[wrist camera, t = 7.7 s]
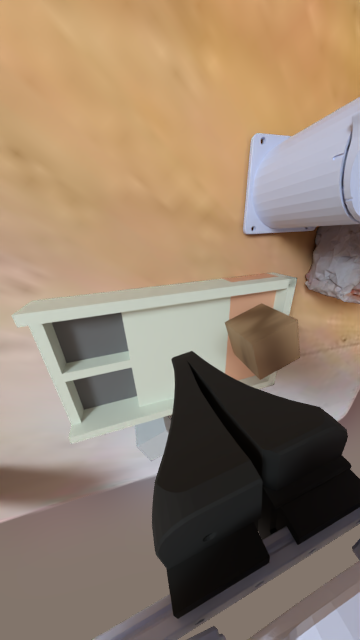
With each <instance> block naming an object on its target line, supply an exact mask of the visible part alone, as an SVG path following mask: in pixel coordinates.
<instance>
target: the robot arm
mask: <svg viewBox="0 0 360 640" xmlns="http://www.w3.org/2000/svg"><path fill="white" fill-rule="evenodd" d="M261 139H262V141H263V144H261ZM351 224H360V97H358V98H357V99H355V100H353V101H352V102H350V103H348V104H346V105H345V106H343V107H341V108H340V109H338V110H336V111H335V112H333V113H331V114H329V115H328V116H326V117H324V118H323V119H321V120H319V121H317V122H316V123H314V124H312V125H311V126H309V127H307V128H305V129H304V130H302V131H300V132H299V133H297V134H295V135H293V136H283V135H273V134H263V133H257V134H255V135H254V136H253V137H252V139H251V146H250V158H249V169H248V181H247V192H246V204H245V215H244V226H243V231H244V233H245V234H262V233H280V232H299V231H313V230H314V229H315V228H316V226H333V225H351ZM252 227H253V231H252V230H251V228H252ZM171 361H172V364H173V368H174V377H175V390H174V404H173V412H172V418H171V424H170V429H169V434H168V438H167V442H166V446H165V450H164V454H163V457H162V461H161V464H160V467H159V470H158V473H157V477H156V480H155V486H154V495H153V509H152V529H153V537H154V546H155V552H156V555H157V557H158V558H159V559H160V560H161V562H162V563H163V564H164V566H165V567H166V568H167V576H168V583H169V589H170V594H169V595H167V596H165V597H164V598H162V599H160V600H159V601H157V602H155V603H153V604H152V605H150V606H148V607H147V608H145V609H143V610H141V611H140V612H138V613H136V614H135V615H133V616H131V617H129V618H128V619H126V620H124V621H123V622H121V623H119V624H117V625H116V626H114V627H112V628H111V629H109V630H107V631H105V632H104V633H102V634H101V635H99V636H97V637H95V638H93V639H92V640H177V639H179V638H181V637H182V636H184V635H185V634H187V633H188V632H190V631H192V630H193V629H195V628H196V627H198V626H199V625H201V624H203V623H204V622H206V621H207V620H209V619H210V618H212V617H214V616H215V615H217V614H218V613H220V612H221V611H223V610H225V609H226V608H228V607H229V606H231V605H232V604H234V603H236V602H237V601H239V600H240V599H242V598H244V597H245V596H247V595H248V594H250V593H251V592H253V591H255V590H256V589H258V588H259V587H261V586H262V585H264V584H266V583H267V582H268V581H270V580H272V579H274V578H275V577H277V576H278V575H280V574H281V573H283V572H285V571H286V570H288V569H289V568H291V567H292V566H294V565H296V564H297V563H299V562H300V561H302V560H303V559H305V558H307V557H308V556H310V555H311V554H313V553H314V552H316V551H318V550H319V549H321V548H322V547H324V546H325V545H327V544H329V543H330V542H332V541H333V540H335V539H337V538H338V537H340V536H341V535H343V534H344V533H346V532H348V531H349V530H351V529H352V528H354V527H355V526H357V525H358V524H360V479H359V478H358V477H357V476H356V475H355V474H354V473H353V472H352V471H351V470H350V468H351V464H350V463H349V462H348V461H347V460H346V459H345V458H344V457H343V456H342V452H343V450H344V447H345V444H346V442H347V437H348V436H347V430H346V429H345V428H344V427H343V426H342V425H341V424H340V423H338V422H337V421H336V420H335V419H334V418H333V417H332V416H330V415H329V414H328V413H327V412H325V411H324V410H323V409H321V408H320V407H317V406H313V405H308V404H304V403H300V402H296V401H292V400H289V399H285V398H282V397H279V396H275V395H273V394H270V393H267V392H264V391H262V390H259V389H256V388H254V387H251V386H249V385H247V384H244V383H242V382H240V381H238V380H236V379H234V378H232V377H230V376H229V375H227V374H225V373H223V372H222V371H220V370H218V369H217V368H215V367H214V366H212V365H211V364H209V363H208V362H206V361H205V360H204V359H202V358H201V357H200V356H198V355H197V354H196V353H194V352H193V351H190V352H187V353H184V354H181V355H178V356H175V357H173V358H172V359H171ZM258 531H259V532H258ZM352 549H353V552H354V553H355V555H356V556H357V557H358V559H359V560H360V539H359V540H358V542H357V543H356V544H355V545H354V546H353V547H352ZM187 640H226V638H225V636H224V635H223V634H219V633H218V629H217V628H216V627H214V626H213V627H211V628H209V629H207V630H205V631H203V632H201V633H199V634H197V635H195V636H193V637H191V638H189V639H187ZM248 640H360V561H358V562H357V563H355V564H354V565H352V566H351V567H349V568H348V569H346V570H345V571H343V572H342V573H340V574H339V575H338V576H336V577H334V578H333V579H331V580H330V581H329V582H327V583H326V584H324V585H323V586H321V587H320V588H319V589H317V590H316V591H314V592H313V593H311V594H310V595H309V596H307V597H306V598H304V599H303V600H301V601H300V602H299V603H297V604H296V605H294V606H293V607H292V608H290V609H289V610H288V611H286V612H285V613H283V614H282V615H281V616H279V617H278V618H276V619H275V620H274V621H272V622H271V623H270V624H268V625H267V626H266V627H264V628H263V629H262V630H260V631H259V632H257V633H256V634H255V635H253V636H252V637H251V638H249V639H248Z"/></svg>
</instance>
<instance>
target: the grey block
mask: <svg viewBox="0 0 360 640" xmlns="http://www.w3.org/2000/svg"><path fill="white" fill-rule="evenodd" d="M170 424H171V419H170V418H169V417H168V416H165V417H162V418H158V419H155V420H151V421H148V422H145V423H141V424H138V425H135V432H136V444H137V448H138V449H139V450H140V451H141V452H142V453H143V454H144V455H145V456H146V457H147V458H148V459H149V460H151V461H153V460H155V459H156V458H158V457H160V456H162V455H163V454H164V450H165V446H166V442H167V438H168V434H169V429H170Z"/></svg>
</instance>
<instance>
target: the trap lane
mask: <svg viewBox="0 0 360 640" xmlns="http://www.w3.org/2000/svg"><path fill="white" fill-rule="evenodd" d="M296 281H297V278H295V277H291V276H286V275H282V274H277V273H266V274H257V275H249V276H240V277H232V278H223V279H215V280H206V281H197V282H189V283H180V284H172V285H163V286H155V287H146V288H138V289H129V290H120V291H112V292H103V293H95V294H86V295H78V296H69V297H61V298H52V299H43V300H35V301H31V302H29V303H28V304H26V305H25V306H24V307H22V308H21V309H19V310H18V311H17V312H15V313H14V314H13V315H12V317H13V319H14V322H15V324H16V326H17V327H24V326H29V328H30V330H31V333H32V335H33V337H34V340H35V342H36V344H37V346H38V349H39V351H40V353H41V356H42V358H43V360H44V363H45V365H46V367H47V370H48V372H49V374H50V377H51V379H52V381H53V383H54V386H55V388H56V390H57V393H58V395H59V397H60V400H61V402H62V404H63V407H64V409H65V411H66V414H67V416H68V418H69V421H70V423H71V425H72V426H71V430H70V434H69V437H68V438H69V440H70V443H71V444H73V443H76V442H80V441H83V440H87V439H90V438H93V437H97V436H100V435H104V434H107V433H111V432H114V431H117V430H121V429H124V428H128V427H131V426H134V425H138V424H141V423H145V422H148V421H151V420H155V419H158V418H162V417H165V416H169V415H172V412H173V404H174V390H175V377H174V368H173V364H172V361H171V359H172V358H173V357H175V356H178V355H181V354H184V353H187V352H190V351H193V352H194V353H196V354H197V355H198V356H200V357H201V358H202V359H204V360H205V361H206V362H208V363H209V364H211V365H212V366H214V367H215V368H217V369H218V370H220V371H222V372H223V373H225V374H227V375H229V376H230V377H232V378H234V379H236V380H238V381H240V382H242V383H244V384H247V385H249V386H251V387H254V388H256V389H261V388H264V387H268V386H271V385H274V382H275V377H276V373H277V371H275V372H274V373H272V374H270V375H268V376H267V377H265V378H263V379H261V380H260V379H259V378H258V377H257V376H256V375H255V374H254V373H253V372H252V371H251V370H250V369H249V368H248V367H247V366H246V365H245V364H244V363H243V362H242V361H241V360H240V359H239V358H238V357H237V356H236V355H235V354H234V352H233V349H232V346H231V342H230V339H229V336H228V332H227V329H226V326H225V322H226V321H228V320H230V319H232V318H234V317H236V316H238V315H240V314H242V313H244V312H246V311H247V310H249V309H251V308H253V307H255V306H257V305H259V304H261V303H262V304H264V305H266V306H269V307H271V308H273V309H275V310H277V311H279V312H282V313H284V314H286V315H288V316H289V313H290V309H291V304H292V300H293V295H294V291H295V286H296Z"/></svg>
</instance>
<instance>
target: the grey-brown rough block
mask: <svg viewBox="0 0 360 640" xmlns="http://www.w3.org/2000/svg"><path fill="white" fill-rule="evenodd" d="M315 243H316V245H317V247H316V248H315V250H314V252H313V263H312V265H311V269H310V270H309V272H308V273H307V274H306V275H305V276H306V278H307V280H308V281H306V282H305V284H306V285H307V287H308V289H309V290H313V291H316V292H318V293H321V294H324V295H326V296H330V297H334V298H337V299H341V300H342V301H344V302H353V303H358V304H360V224H351V225H333V226H319V228H318V229H317V236H316V239H315Z"/></svg>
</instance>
